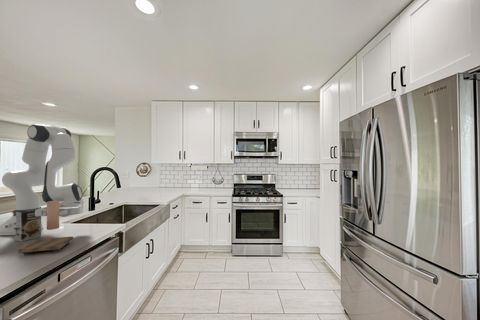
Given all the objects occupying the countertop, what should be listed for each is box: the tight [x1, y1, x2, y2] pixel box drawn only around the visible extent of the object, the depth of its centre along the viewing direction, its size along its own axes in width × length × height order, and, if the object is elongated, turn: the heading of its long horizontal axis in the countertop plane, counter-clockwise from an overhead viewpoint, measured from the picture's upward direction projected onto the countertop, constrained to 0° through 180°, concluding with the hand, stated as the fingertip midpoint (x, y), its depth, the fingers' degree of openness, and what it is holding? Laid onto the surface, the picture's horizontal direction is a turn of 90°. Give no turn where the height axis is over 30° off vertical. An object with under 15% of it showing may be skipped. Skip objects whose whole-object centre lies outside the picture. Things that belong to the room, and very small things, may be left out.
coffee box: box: [14, 209, 42, 242], centre depth 124 cm, size 9×6×16 cm
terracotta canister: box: [46, 200, 60, 231], centre depth 112 cm, size 5×5×14 cm
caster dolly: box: [17, 236, 74, 256], centre depth 108 cm, size 16×14×4 cm
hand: (52, 214), depth 111 cm, fingers closed on terracotta canister, 5 cm apart
